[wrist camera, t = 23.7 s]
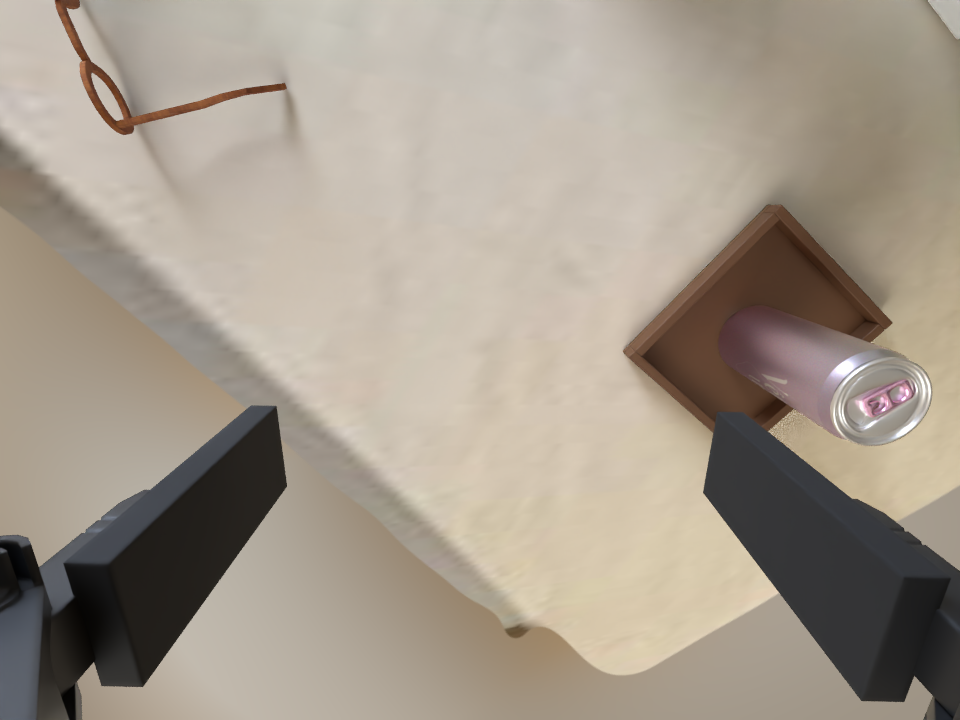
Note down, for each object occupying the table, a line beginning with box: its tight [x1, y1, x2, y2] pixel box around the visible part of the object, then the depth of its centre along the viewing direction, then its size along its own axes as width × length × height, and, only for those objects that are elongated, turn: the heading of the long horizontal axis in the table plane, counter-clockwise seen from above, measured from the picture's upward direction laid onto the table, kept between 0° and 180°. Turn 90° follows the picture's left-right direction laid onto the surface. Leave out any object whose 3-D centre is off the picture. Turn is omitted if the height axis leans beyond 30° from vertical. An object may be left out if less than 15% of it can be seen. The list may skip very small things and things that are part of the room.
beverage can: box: [718, 306, 932, 446], centre depth 35 cm, size 6×6×15 cm
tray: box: [623, 205, 892, 433], centre depth 42 cm, size 17×15×2 cm
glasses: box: [55, 0, 287, 135], centre depth 33 cm, size 13×13×5 cm
